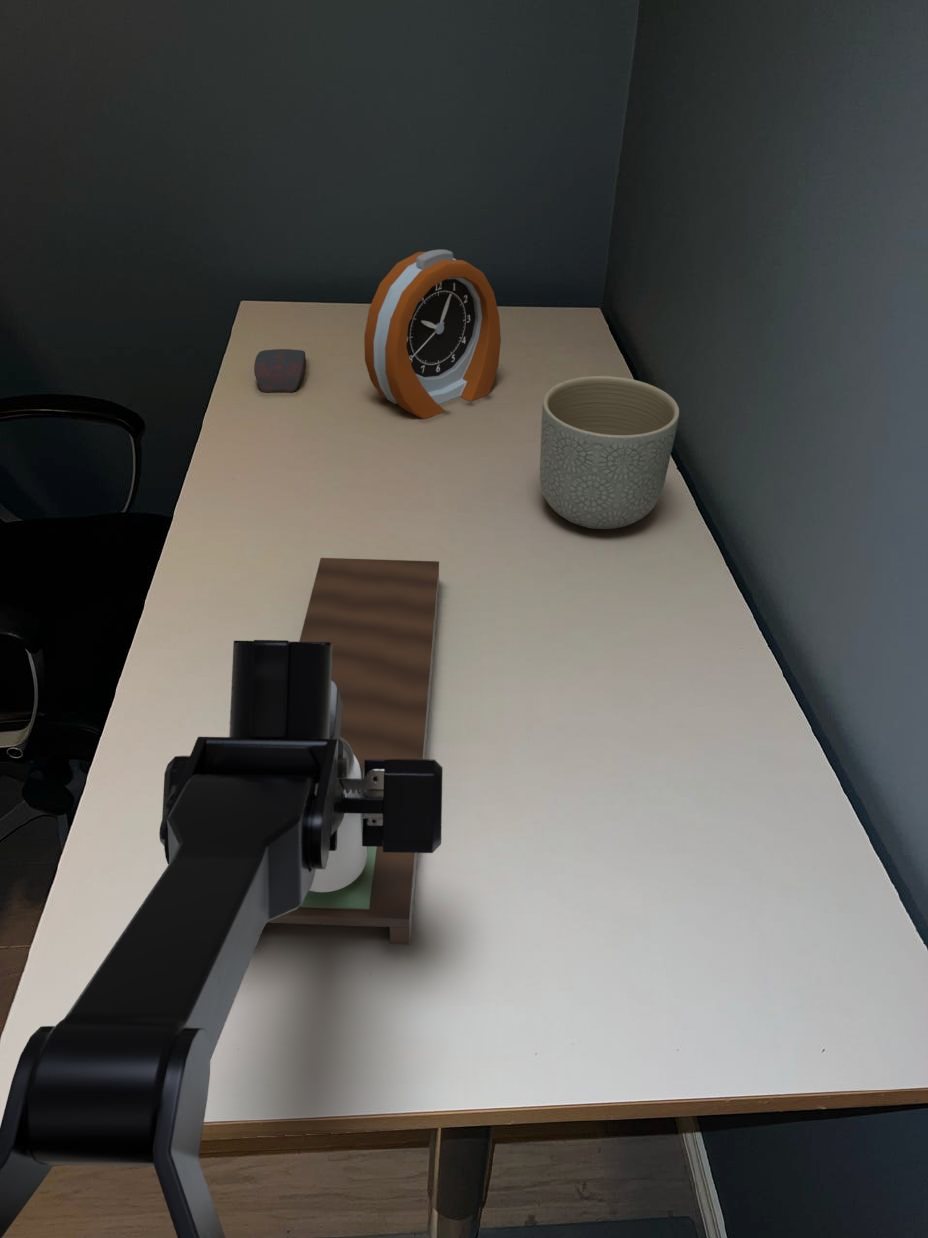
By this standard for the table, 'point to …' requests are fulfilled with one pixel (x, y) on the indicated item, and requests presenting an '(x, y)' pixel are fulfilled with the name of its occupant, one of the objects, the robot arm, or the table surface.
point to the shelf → (375, 709)
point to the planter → (605, 449)
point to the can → (344, 842)
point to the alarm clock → (432, 333)
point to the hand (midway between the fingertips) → (322, 794)
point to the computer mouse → (279, 369)
